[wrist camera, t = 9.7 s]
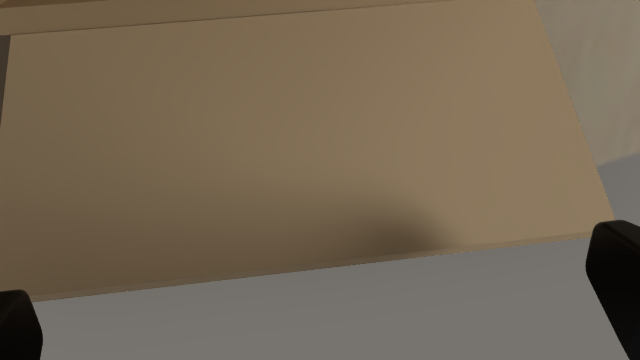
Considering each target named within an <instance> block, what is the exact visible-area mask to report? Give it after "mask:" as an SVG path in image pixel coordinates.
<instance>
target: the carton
mask: <svg viewBox="0 0 640 360" xmlns="http://www.w3.org/2000/svg"><path fill="white" fill-rule="evenodd" d="M437 1H450V0H0V35H13V34H26V33H39V32H52V31H65V30H77V29H90V28H103V27H116V26H129V25H142V24H155V23H167V22H180V21H193V20H206V19H219V18H232V17H245V16H257V15H270V14H283V13H296V12H309V11H322V10H335V9H347V8H360V7H373V6H386V5H399V4H412V3H425V2H437Z"/></svg>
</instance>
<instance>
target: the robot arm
mask: <svg viewBox="0 0 640 360" xmlns="http://www.w3.org/2000/svg"><path fill="white" fill-rule="evenodd" d="M586 273H587V276H588V278H589V280H590V283H591V285H592V286H593V289H594V291H595V292H596V295H597V297H598V299H599V301H600V303H601V304H602V307H603V309H604V310H605V313H606V315H607V317H608V319H609V321H610V323H611V325H612V327H613V329H614V331H615V333H616V335H617V337H618V339H619V341H620V343H621V345H622V347H623V348H624V350H625V352H626V354H627V356H628V358H629V359H630V360H640V227H639V226H637V225H634V224H632V223H629V222H627V221H624V220H612V221H604V222H599V223H597V224H596V225H595V227H594V228H593V231H592V235H591V240H590V245H589V249H588V254H587V259H586ZM42 345H43V335H42V330H41V326H40V324H39V321H38V318H37V316H36V313H35V310H34V308H33V305H32V302H31V300H30V297H29V295H28V294H27V292H26V291H24V290H22V289H16V290H7V291H0V360H40V356H41V350H42Z"/></svg>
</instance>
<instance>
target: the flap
mask: <svg viewBox="0 0 640 360" xmlns="http://www.w3.org/2000/svg"><path fill="white" fill-rule="evenodd" d="M612 220H615V217H614V214H613V212H612V209H611V206H610V204H609V201H608V198H607V195H606V193H605V190H604V187H603V185H602V182H601V179H600V176H599V174H598V171H597V168H596V166H595V163H594V160H593V158H592V155H591V152H590V150H589V147H588V144H587V141H586V139H585V136H584V133H583V131H582V128H581V125H580V123H579V120H578V117H577V114H576V112H575V109H574V106H573V104H572V101H571V98H570V96H569V93H568V90H567V88H566V85H565V82H564V79H563V77H562V74H561V71H560V69H559V66H558V63H557V61H556V58H555V55H554V52H553V50H552V47H551V44H550V42H549V39H548V36H547V34H546V31H545V28H544V26H543V23H542V20H541V17H540V15H539V12H538V9H537V7H536V4H535V1H534V0H457V1H444V2H431V3H418V4H406V5H393V6H380V7H367V8H354V9H341V10H328V11H316V12H303V13H290V14H277V15H264V16H251V17H239V18H226V19H213V20H200V21H187V22H174V23H162V24H149V25H136V26H123V27H110V28H97V29H84V30H72V31H59V32H46V33H33V34H20V35H11V39H10V48H9V56H8V65H7V74H6V82H5V91H4V99H3V108H2V116H1V125H0V291H7V290H16V289H22V290H24V291H26V292H27V294H28V295H29V297H30V300H31V302H39V301H47V300H56V299H64V298H73V297H82V296H91V295H99V294H108V293H116V292H125V291H133V290H142V289H151V288H159V287H168V286H177V285H185V284H194V283H203V282H211V281H219V280H228V279H237V278H246V277H254V276H263V275H271V274H280V273H289V272H297V271H306V270H314V269H322V268H331V267H340V266H349V265H357V264H366V263H375V262H383V261H392V260H400V259H409V258H417V257H426V256H435V255H443V254H452V253H461V252H469V251H478V250H485V249H495V248H503V247H512V246H521V245H529V244H538V243H546V242H555V241H564V240H572V239H581V238H590V237H591V235H592V231H593V228H594V227H595V225H596V224H597V223H599V222H604V221H612Z"/></svg>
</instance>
